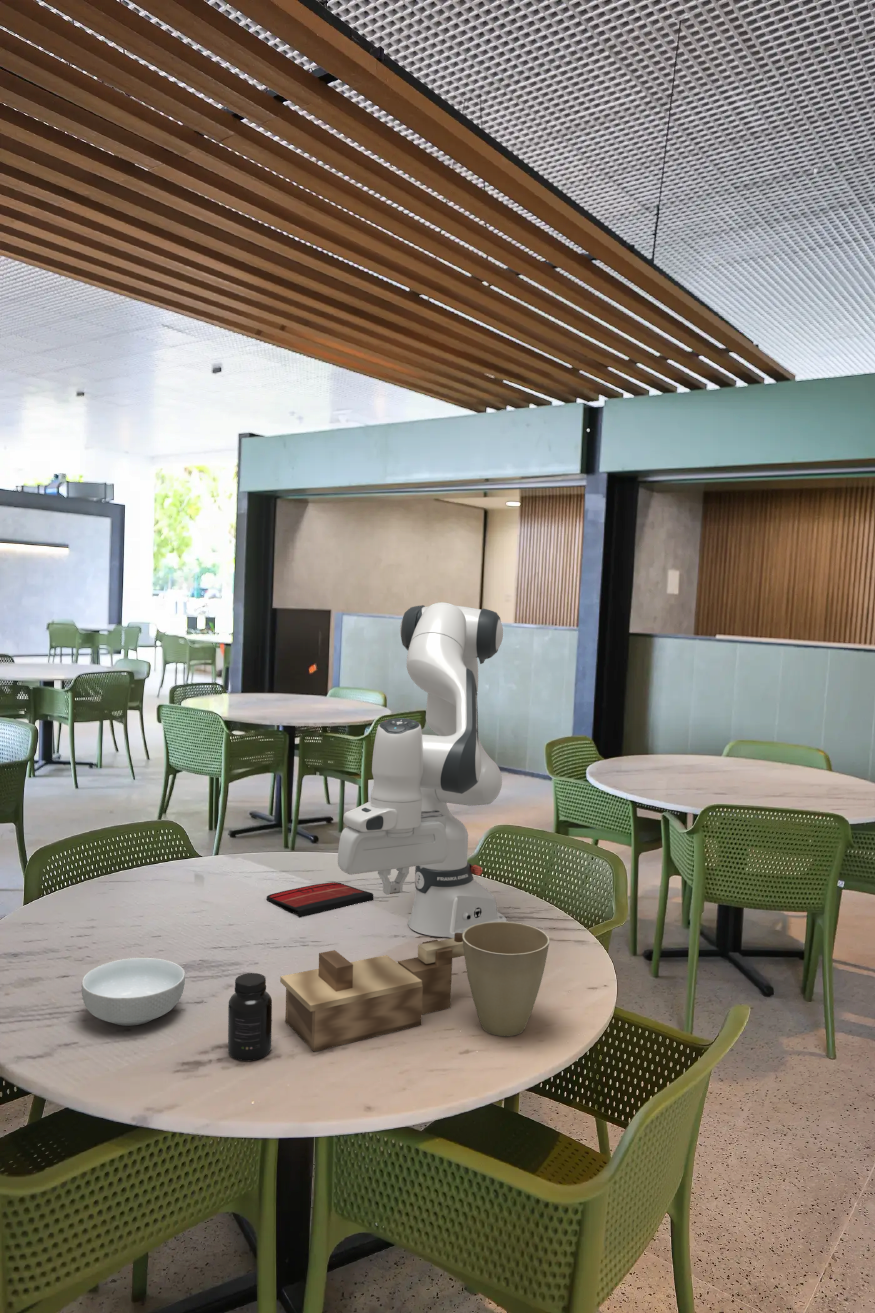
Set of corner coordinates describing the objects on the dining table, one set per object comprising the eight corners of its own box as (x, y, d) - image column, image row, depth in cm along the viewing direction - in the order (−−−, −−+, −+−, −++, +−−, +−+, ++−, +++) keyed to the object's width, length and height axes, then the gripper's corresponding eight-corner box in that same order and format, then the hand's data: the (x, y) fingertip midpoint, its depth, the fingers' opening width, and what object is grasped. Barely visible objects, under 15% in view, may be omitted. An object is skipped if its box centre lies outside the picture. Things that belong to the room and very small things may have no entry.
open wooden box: (425, 989, 174) (427, 933, 173) (460, 1015, 163) (462, 956, 163) (285, 1021, 159) (286, 960, 158) (314, 1052, 149) (315, 987, 148)
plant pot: (476, 1001, 169) (479, 916, 168) (555, 1018, 164) (559, 930, 163) (445, 1036, 156) (449, 943, 154) (530, 1056, 150) (535, 960, 149)
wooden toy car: (459, 949, 171) (460, 930, 171) (468, 955, 169) (469, 935, 169) (417, 958, 167) (418, 938, 166) (426, 964, 164) (427, 944, 164)
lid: (386, 966, 169) (387, 933, 169) (421, 993, 158) (422, 958, 158) (280, 989, 158) (280, 953, 158) (310, 1019, 148) (311, 981, 147)
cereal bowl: (125, 1049, 148) (126, 1006, 147) (59, 1021, 156) (60, 980, 156) (205, 1010, 162) (205, 971, 161) (140, 986, 171) (141, 949, 170)
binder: (373, 892, 223) (299, 910, 209) (373, 902, 223) (299, 920, 209) (335, 878, 235) (262, 894, 221) (335, 887, 235) (262, 903, 221)
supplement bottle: (230, 1041, 151) (232, 969, 150) (273, 1041, 152) (274, 969, 151) (224, 1062, 144) (226, 987, 144) (268, 1062, 145) (270, 987, 144)
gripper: (436, 805, 168) (433, 880, 169) (335, 815, 157) (332, 895, 158) (456, 812, 163) (452, 890, 163) (352, 823, 152) (349, 906, 152)
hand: (392, 893), depth 160 cm, fingers closed
